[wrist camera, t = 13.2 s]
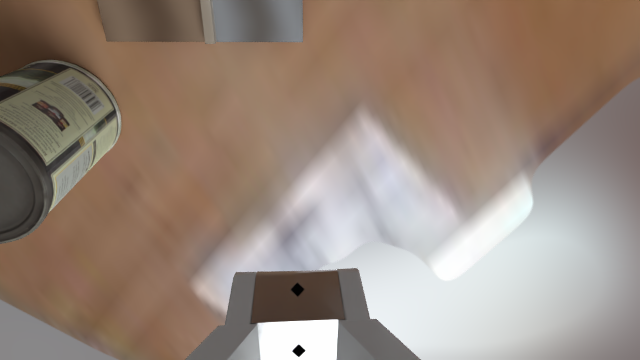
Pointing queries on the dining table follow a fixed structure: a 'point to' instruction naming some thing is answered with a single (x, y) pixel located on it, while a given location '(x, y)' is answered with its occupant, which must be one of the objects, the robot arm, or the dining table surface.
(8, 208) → the coffee can
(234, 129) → the dining table surface
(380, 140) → the dining table surface
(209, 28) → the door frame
